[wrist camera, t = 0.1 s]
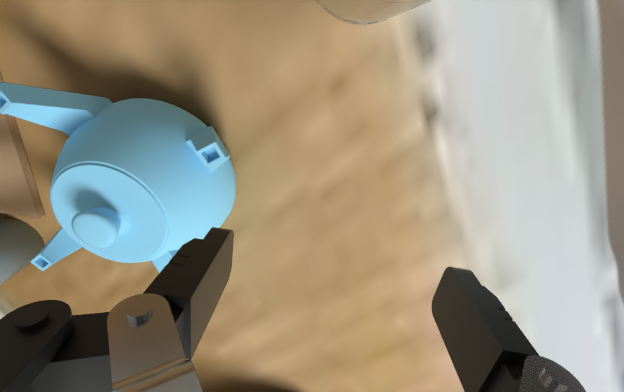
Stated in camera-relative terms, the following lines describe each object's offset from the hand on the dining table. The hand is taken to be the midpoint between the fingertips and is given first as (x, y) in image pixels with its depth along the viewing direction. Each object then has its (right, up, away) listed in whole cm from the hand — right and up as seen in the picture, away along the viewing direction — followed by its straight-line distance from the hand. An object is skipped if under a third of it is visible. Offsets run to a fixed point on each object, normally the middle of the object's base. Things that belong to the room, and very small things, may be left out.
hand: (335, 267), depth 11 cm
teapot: (-15, +6, +18) cm, 24 cm away
